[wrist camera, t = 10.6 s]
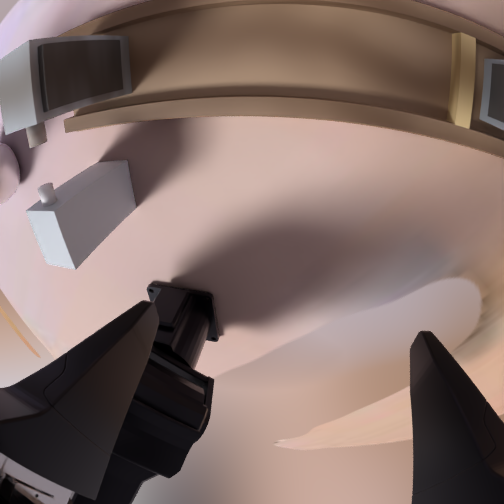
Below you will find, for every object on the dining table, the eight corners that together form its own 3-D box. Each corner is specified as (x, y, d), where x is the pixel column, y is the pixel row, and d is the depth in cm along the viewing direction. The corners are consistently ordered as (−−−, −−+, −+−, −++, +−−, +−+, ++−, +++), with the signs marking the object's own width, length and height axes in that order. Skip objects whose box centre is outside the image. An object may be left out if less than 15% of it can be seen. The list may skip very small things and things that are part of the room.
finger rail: (518, 161, 13) (598, 229, 6) (86, 127, 18) (-6, 175, 11) (530, 59, 8) (623, 83, 1) (77, 32, 14) (-24, 46, 6)
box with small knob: (125, 146, 19) (48, 193, 12) (136, 207, 22) (75, 269, 15) (91, 149, 19) (17, 194, 13) (104, 206, 22) (43, 263, 16)
